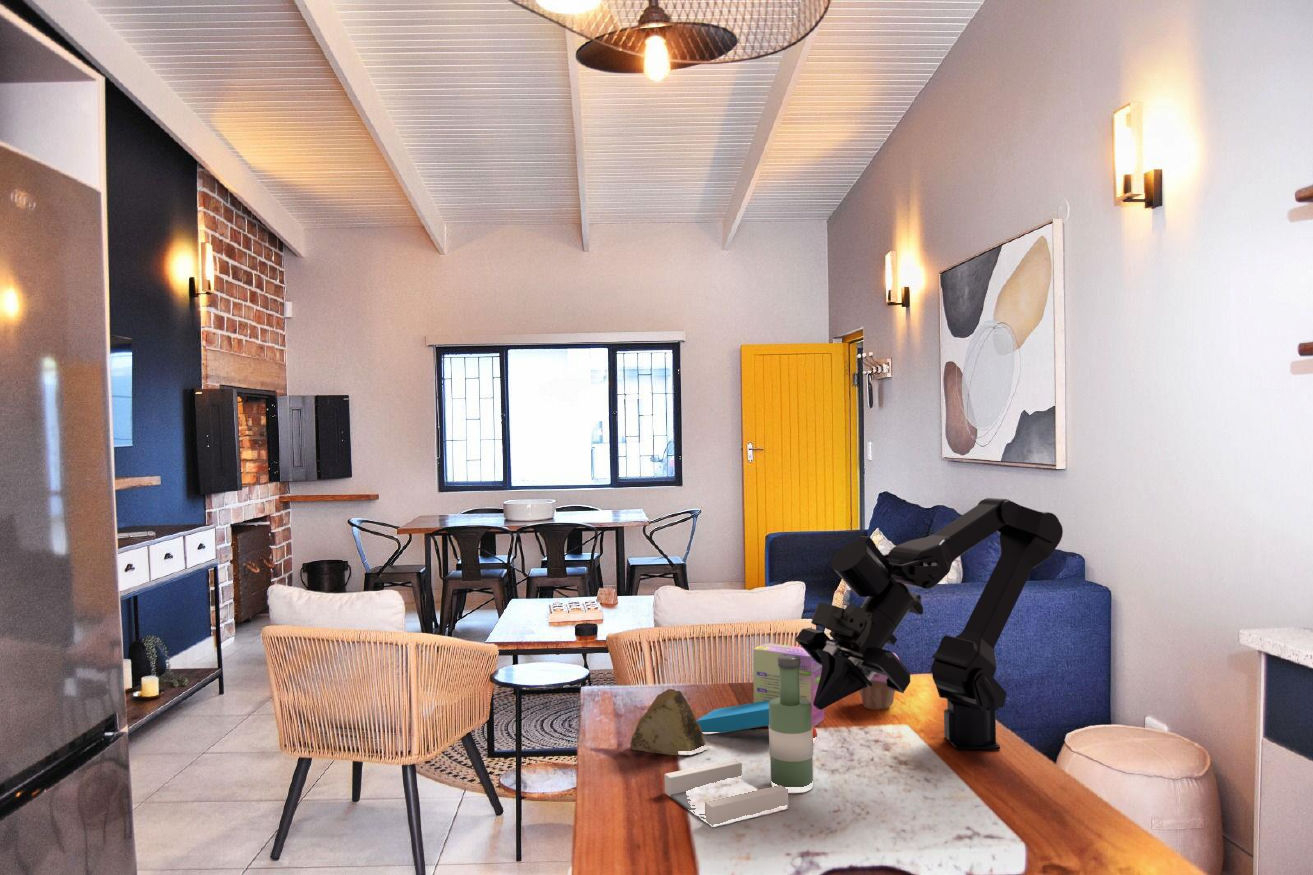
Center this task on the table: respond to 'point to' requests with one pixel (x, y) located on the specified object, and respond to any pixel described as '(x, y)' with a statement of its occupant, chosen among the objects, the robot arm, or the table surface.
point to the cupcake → (877, 693)
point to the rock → (668, 726)
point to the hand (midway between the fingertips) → (816, 707)
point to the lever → (738, 718)
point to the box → (769, 675)
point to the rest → (726, 806)
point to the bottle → (790, 729)
